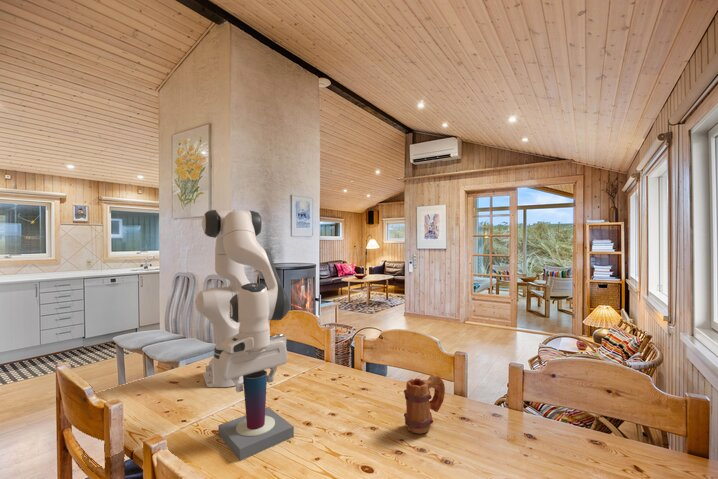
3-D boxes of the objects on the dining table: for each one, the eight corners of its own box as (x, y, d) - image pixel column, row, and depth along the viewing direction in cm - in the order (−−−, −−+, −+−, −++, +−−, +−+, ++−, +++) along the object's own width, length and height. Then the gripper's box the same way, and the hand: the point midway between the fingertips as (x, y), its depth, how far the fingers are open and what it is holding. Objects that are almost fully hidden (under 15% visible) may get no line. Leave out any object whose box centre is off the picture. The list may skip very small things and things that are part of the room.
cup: (261, 432, 96) (260, 379, 96) (239, 430, 97) (238, 377, 97) (271, 419, 103) (270, 370, 103) (250, 418, 104) (249, 369, 104)
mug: (413, 440, 96) (412, 387, 97) (397, 427, 104) (396, 377, 104) (452, 427, 103) (452, 377, 103) (435, 415, 110) (434, 368, 111)
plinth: (218, 435, 101) (218, 424, 101) (268, 416, 111) (268, 406, 111) (240, 460, 89) (240, 448, 89) (293, 436, 99) (293, 425, 99)
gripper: (281, 330, 110) (281, 373, 109) (215, 344, 96) (216, 393, 96) (291, 334, 105) (291, 379, 105) (223, 349, 91) (224, 400, 91)
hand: (255, 386), depth 100 cm, fingers open, 8 cm apart
